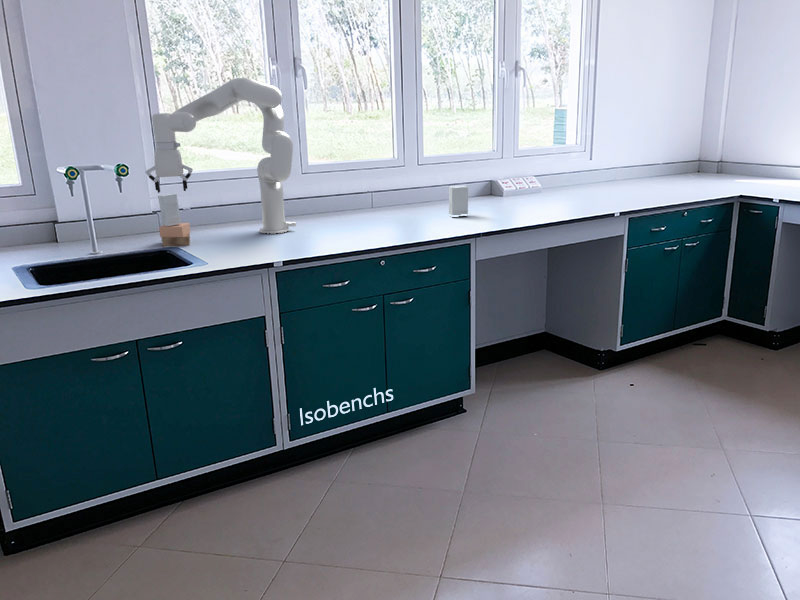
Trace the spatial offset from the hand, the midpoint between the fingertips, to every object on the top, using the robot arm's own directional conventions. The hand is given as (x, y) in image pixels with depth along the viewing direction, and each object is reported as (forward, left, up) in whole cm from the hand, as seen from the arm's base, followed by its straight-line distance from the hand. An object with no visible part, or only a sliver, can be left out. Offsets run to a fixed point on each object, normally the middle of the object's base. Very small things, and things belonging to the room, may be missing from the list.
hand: (172, 191), depth 256 cm
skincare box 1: (+1, 0, -13) cm, 13 cm away
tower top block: (+1, 0, -17) cm, 17 cm away
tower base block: (0, 0, -21) cm, 21 cm away
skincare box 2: (-129, -24, -21) cm, 132 cm away
